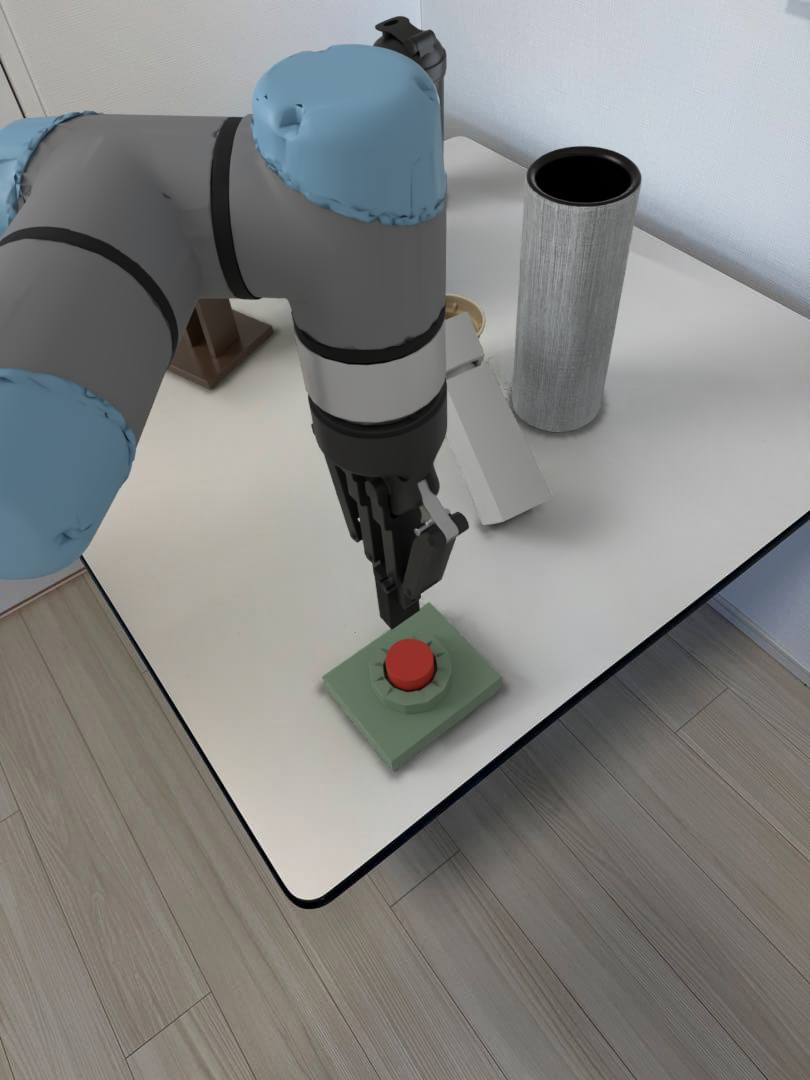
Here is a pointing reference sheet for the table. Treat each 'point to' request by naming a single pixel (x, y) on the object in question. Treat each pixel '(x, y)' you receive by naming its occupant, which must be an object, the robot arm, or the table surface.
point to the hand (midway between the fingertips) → (399, 613)
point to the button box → (412, 715)
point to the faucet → (487, 432)
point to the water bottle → (416, 51)
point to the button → (409, 664)
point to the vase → (571, 282)
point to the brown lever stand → (216, 342)
